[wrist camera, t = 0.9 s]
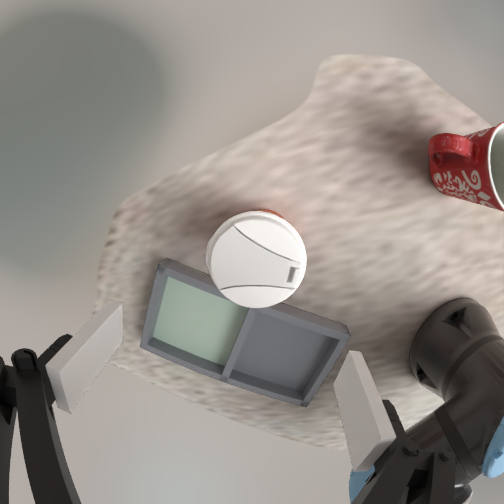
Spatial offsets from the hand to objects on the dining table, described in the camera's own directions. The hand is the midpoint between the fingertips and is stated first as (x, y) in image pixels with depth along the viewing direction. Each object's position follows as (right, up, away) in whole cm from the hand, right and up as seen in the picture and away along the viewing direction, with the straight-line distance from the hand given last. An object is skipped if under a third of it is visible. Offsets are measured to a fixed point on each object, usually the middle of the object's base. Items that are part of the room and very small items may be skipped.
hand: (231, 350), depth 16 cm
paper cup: (+3, +8, +20) cm, 21 cm away
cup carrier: (0, -6, +23) cm, 24 cm away
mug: (+25, +17, +15) cm, 34 cm away
